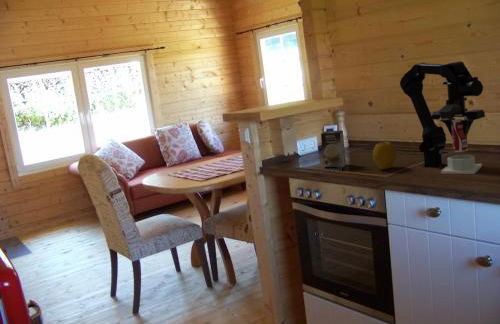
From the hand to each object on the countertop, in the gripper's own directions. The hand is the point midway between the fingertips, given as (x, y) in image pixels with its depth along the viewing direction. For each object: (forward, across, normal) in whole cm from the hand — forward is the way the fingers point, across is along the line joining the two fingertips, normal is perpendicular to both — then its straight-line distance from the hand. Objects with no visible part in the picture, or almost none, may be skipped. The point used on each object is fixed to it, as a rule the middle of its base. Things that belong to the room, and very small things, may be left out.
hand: (458, 137), depth 197 cm
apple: (+13, -30, -8) cm, 34 cm away
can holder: (+13, 0, 0) cm, 13 cm away
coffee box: (+13, -56, -11) cm, 59 cm away
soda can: (+6, 0, 0) cm, 6 cm away
